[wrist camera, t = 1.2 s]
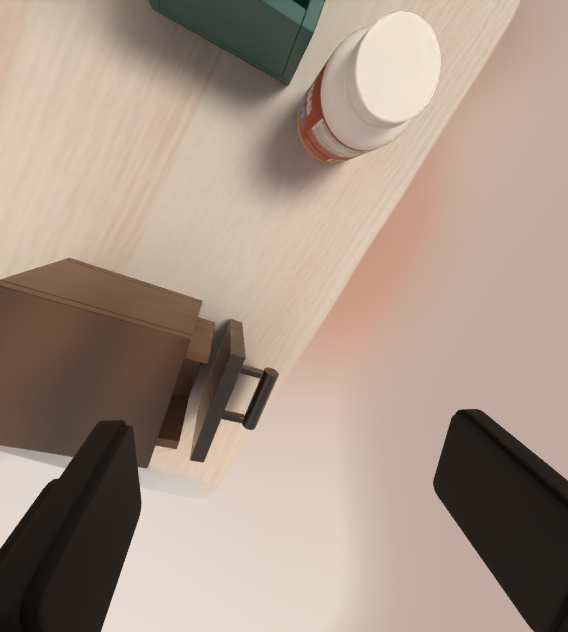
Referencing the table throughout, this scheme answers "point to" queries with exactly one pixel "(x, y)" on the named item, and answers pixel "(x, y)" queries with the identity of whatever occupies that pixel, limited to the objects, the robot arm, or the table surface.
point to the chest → (251, 28)
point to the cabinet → (88, 355)
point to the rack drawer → (213, 389)
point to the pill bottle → (370, 88)
